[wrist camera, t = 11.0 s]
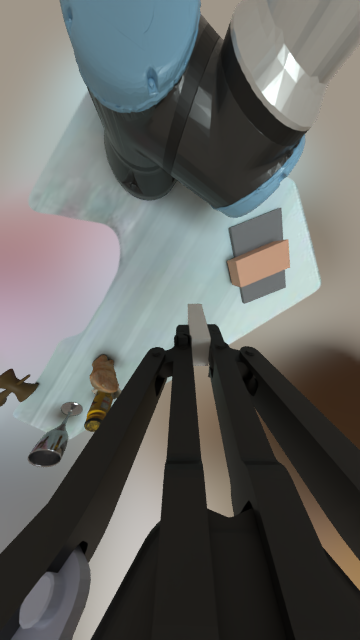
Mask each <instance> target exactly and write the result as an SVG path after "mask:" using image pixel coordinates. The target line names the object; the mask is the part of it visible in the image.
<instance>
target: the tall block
mask: <svg viewBox="0 0 360 640" xmlns="http://www.w3.org/2000/svg"><path fill="white" fill-rule="evenodd" d="M227 263H228V267H229V272H230V276H231V280H232V285H235V286H238V287H244V286H246V285H249V284H251V283H253V282H256V281H258V280H261V279H263V278H265V277H268V276H270V275H273V274H275V273H277V272H280V271H282V270H285V269H287V268H289V267H290V260H289V243H288V240H280V241H273V242H271V243H269V244H266V245H264V246H261V247H259V248H257V249H254V250H252V251H250V252H247V253H245V254H242V255H240V256H238V257H235V258H233V259H231V260H228V261H227Z"/></svg>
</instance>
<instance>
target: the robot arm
mask: <svg viewBox="0 0 360 640" xmlns="http://www.w3.org/2000/svg"><path fill="white" fill-rule="evenodd" d="M60 4H61V9H62V14H63V18H64V22H65V25H66V29H67V32H68V35H69V38H70V40H71V43H72V46H73V49H74V54H75V58H76V62H77V64H78V67H79V71H80V73H81V76H82V78H83V80H84V82H85V84H86V86H87V88H88V91H89V93H90V95H91V98H92V100H93V103H94V105H95V107H96V110H97V112H98V114H99V117H100V119H101V122H102V124H103V126H104V143H105V150H106V155H107V158H108V161H109V164H110V167H111V169H112V171H113V173H114V175H115V177H116V178H117V180H118V181H119V183H120V184H121V185H122V186H123V188H124V189H125V190H127V191H128V192H129V193H130V194H132V195H133V196H135V197H137V198H140V199H143V200H155V199H158V198H161V197H163V196H164V195H166V194H167V193H168V192H169V191H170V190H171V188H172V187H173V185H174V184H175V182H176V180H178V181H179V182H180V183H182V184H183V185H185V186H186V187H187V188H189V189H190V190H191V191H193V192H194V193H195V194H197V195H198V196H199V197H201V198H202V199H203V200H205V201H206V202H207V203H209V204H210V205H211V207H212V208H213V209H216V210H219V211H221V212H222V213H224V214H225V215H227V216H228V217H232V218H237V217H241V216H244V215H246V214H248V213H249V212H251V211H252V210H254V209H255V208H257V207H258V206H259V205H260V204H262V203H263V202H264V201H265V200H266V199H267V198H268V197H269V196H270V195H271V194H272V193H273V192H274V191H275V190H276V189H277V188H278V187H279V185H280V182H281V181H282V180H283V179H284V178H286V177H287V176H288V175H289V173H290V172H291V171H292V169H293V168H294V166H295V165H296V163H297V162H298V160H299V158H300V156H301V154H302V152H303V149H304V145H305V133H306V132H307V131H308V130H309V129H310V128H311V127H312V125H313V124H314V123H315V122H316V120H317V118H318V114H319V111H320V107H321V104H322V101H323V97H324V94H325V90H326V88H327V86H328V84H329V82H330V80H331V79H332V78H333V77H334V75H335V74H336V73H337V72H338V70H339V69H340V68H341V67H342V66H343V64H344V63H345V62H346V61H347V59H348V58H349V57H350V56H351V54H352V53H353V52H354V51H355V50H356V48H357V47H358V46H359V45H360V0H242V1H241V2H240V3H239V4H238V5H237V6H236V8H235V10H234V13H233V15H232V19H231V22H230V24H229V27H228V30H227V33H226V36H225V39H224V40H223V39H222V38H221V37H220V36H219V35H218V34H217V33H216V31H215V30H214V29H213V28H212V27H211V26H210V24H209V23H208V22H207V21H206V19H205V18H204V17H203V16H202V15H201V14H200V6H201V2H200V0H60ZM208 362H209V365H210V366H209V375H208V377H210V378H211V383H212V388H213V394H214V399H215V404H216V410H217V415H218V420H219V425H220V430H221V435H222V441H223V446H224V451H225V457H226V462H227V467H228V472H229V477H230V484H231V499H232V506H233V512H234V517H226V516H223V515H221V514H219V513H216V512H214V511H212V510H209V509H207V504H206V492H205V482H204V471H203V464H202V461H201V451H200V439H199V428H198V416H197V405H196V393H195V380H194V368H193V366H196V365H197V366H199V365H200V366H201V365H202V366H208ZM170 376H172V391H171V404H170V418H169V433H168V448H167V459H166V463H165V470H164V482H163V483H164V484H163V496H162V510H161V521H160V522H158V523H157V524H156V526H155V527H154V528H153V529H152V530H151V532H150V533H149V534H148V536H147V538H146V539H145V541H144V543H143V544H142V546H141V548H140V550H139V551H138V553H137V555H136V557H135V559H134V561H133V563H132V565H131V566H130V568H129V570H128V572H127V574H126V575H125V577H124V579H123V581H122V583H121V585H120V587H119V589H118V590H117V592H116V594H115V596H114V598H113V600H112V601H111V603H110V605H109V607H108V609H107V611H106V612H105V614H104V616H103V618H102V620H101V622H100V624H99V626H98V627H97V629H96V631H95V633H94V635H93V636H92V638H91V640H360V590H359V589H358V588H357V587H356V586H355V585H354V584H353V582H352V581H351V580H350V579H349V577H348V576H347V575H346V574H345V573H344V572H343V570H342V569H341V568H340V567H339V566H338V565H337V563H336V562H335V561H334V560H333V559H332V557H331V556H330V555H329V554H328V553H327V552H326V550H325V549H324V548H323V547H322V545H321V543H320V541H319V538H318V536H317V534H316V532H315V529H314V527H313V525H312V523H311V520H310V518H309V516H308V514H307V512H306V510H305V507H304V505H303V503H302V501H301V498H300V496H299V494H298V492H297V489H296V487H295V485H294V482H293V480H292V478H291V476H290V475H289V473H288V471H287V469H286V468H285V467H284V466H283V465H282V464H281V463H279V462H278V461H277V460H276V458H275V456H274V454H273V451H272V449H271V447H270V444H269V442H268V439H267V437H266V434H265V432H264V430H263V427H262V425H261V422H260V420H259V417H258V415H257V413H256V410H257V412H258V413H259V415H260V416H261V418H262V419H263V421H264V422H265V423H266V425H267V427H268V428H269V430H270V431H271V433H272V434H273V436H274V437H275V439H276V440H277V442H278V443H279V445H280V446H281V448H282V449H283V451H284V452H285V454H286V455H287V457H288V458H289V460H290V461H291V463H292V464H293V466H294V467H295V469H296V470H297V472H298V473H299V475H300V476H301V478H302V479H303V481H304V482H305V484H306V485H307V487H308V489H309V490H310V492H311V493H312V495H313V496H314V497H315V499H316V501H317V502H318V504H319V505H320V507H321V508H322V510H323V511H324V513H325V514H326V516H327V517H328V519H329V520H330V521H331V523H332V524H333V526H334V527H335V528H336V530H337V531H338V533H339V534H340V536H341V537H342V538H343V540H344V541H345V542H346V544H347V545H348V546H349V548H351V550H352V551H353V553H354V554H355V555H356V557H357V558H358V559H359V560H360V450H359V449H358V448H357V447H356V446H355V445H354V444H353V443H352V442H351V441H350V440H349V439H348V438H347V437H345V435H344V434H343V433H342V432H340V431H339V429H338V428H337V427H335V426H334V425H333V424H332V423H331V422H330V421H329V420H328V419H327V418H326V417H325V416H324V415H323V414H322V413H321V412H320V411H319V410H318V409H317V408H316V407H315V406H314V405H313V404H312V403H311V402H310V401H309V400H308V399H307V398H306V397H305V396H304V395H303V394H302V393H301V392H300V391H298V390H297V389H296V387H295V386H293V385H292V384H291V383H290V382H289V381H288V380H287V379H286V378H285V377H284V376H283V375H282V374H281V373H280V372H279V371H278V370H277V369H276V368H275V367H274V366H273V365H272V364H271V363H270V362H269V361H268V360H267V359H266V358H265V357H264V356H263V355H262V354H261V353H260V352H259V351H258V350H256V349H255V348H252V347H246V346H245V347H242V348H241V349H240V350H235V349H232V348H230V347H229V346H228V344H227V343H225V342H224V340H223V337H222V335H221V332H220V330H219V327H218V326H217V325H215V324H207V323H206V319H205V315H204V312H203V308H202V304H188V325H178V326H177V328H176V335H175V337H174V347H173V348H172V349H169V350H166V351H165V350H164V349H163V348H160V347H155V348H152V349H150V350H149V351H148V352H147V354H146V355H145V357H144V358H143V360H142V361H141V363H140V364H139V366H138V367H137V369H136V370H135V372H134V373H133V375H132V377H131V378H130V380H129V381H128V383H127V384H126V386H125V387H124V389H123V390H122V392H121V393H120V395H119V396H118V398H117V399H116V401H115V402H114V404H113V405H112V407H111V408H110V410H109V411H108V413H107V414H106V416H105V417H104V419H103V420H102V422H101V424H100V425H99V427H98V428H97V430H96V431H95V433H94V434H93V436H92V437H91V439H90V440H89V442H88V443H87V445H86V446H85V448H84V449H83V451H82V452H81V454H80V455H79V457H78V458H77V460H76V462H75V463H74V465H73V466H72V467H71V469H70V471H69V472H68V474H67V475H66V477H65V478H64V480H63V481H62V483H61V484H60V486H59V487H58V489H57V490H56V492H55V493H54V495H53V496H52V498H51V499H50V501H49V502H48V504H47V505H46V506H45V507H44V508H43V509H42V510H41V511H40V512H39V513H38V514H37V516H35V517H34V519H33V520H32V521H31V522H30V523H29V524H28V525H27V526H26V527H25V528H24V529H23V530H22V532H21V533H20V534H19V535H18V536H17V537H16V538H15V539H14V540H13V541H12V542H11V543H10V544H9V545H8V546H7V548H6V549H5V550H4V551H3V552H2V553H1V554H0V640H72V637H73V634H74V632H75V630H76V627H77V625H78V622H79V620H80V617H81V615H82V613H83V610H84V608H85V605H86V601H87V598H88V594H89V589H90V581H91V579H90V568H89V564H88V563H89V561H90V559H91V558H92V556H93V554H94V552H95V550H96V548H97V546H98V544H99V543H100V540H101V539H102V537H103V535H104V533H105V530H106V528H107V526H108V524H109V521H110V519H111V517H112V515H113V512H114V510H115V507H116V505H117V502H118V500H119V497H120V495H121V492H122V490H123V487H124V485H125V482H126V480H127V477H128V475H129V472H130V470H131V467H132V465H133V462H134V460H135V457H136V455H137V452H138V450H139V448H140V445H141V443H142V440H143V438H144V435H145V433H146V430H147V427H148V425H149V422H150V420H151V418H152V415H153V413H154V410H155V408H156V405H157V403H158V400H159V398H160V395H161V392H162V390H163V388H164V385H165V383H166V380H167V377H170ZM254 407H255V408H254ZM255 409H256V410H255Z"/></svg>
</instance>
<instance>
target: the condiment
mask: <svg viewBox="0 0 360 640" xmlns="http://www.w3.org/2000/svg"><path fill="white" fill-rule="evenodd" d="M92 392H93V393H94V394H95V398H94V400H93V402H92V405H91V407H90V409H89V411H88V414H87V419H86V422H85V424H84V427H85V429H86V430H88V431H91V432H95V431H96V430H97V428H98V427H99V425H100V424H101V422H102V420H103V419H104V417H105V416H106V414H107V413H108V411H109V410H110V407H111V404H112V401H113V399H116V398H118V396H119V395H120V393H121V390H120V389H119V388H118V390H117V391H116V392H114V393H105V392H101V391H99V390H97V389H94V390H92Z"/></svg>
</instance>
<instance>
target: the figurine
mask: <svg viewBox="0 0 360 640" xmlns="http://www.w3.org/2000/svg"><path fill="white" fill-rule="evenodd" d="M113 365H114V361H113V360H107V356H105V355H102V356H100V357H99V358H97V359H96V360H95V361H94V362H93V363H92V366H93V371H92V373H91V375H90V381H91V384H92V386H93V387H94V388H95V389H97V390H99V391H101V392H105V393H114V392H116V391H117V390H118V386H119V384H118V381H117V378H116V372H115V370H114V366H113Z"/></svg>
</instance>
